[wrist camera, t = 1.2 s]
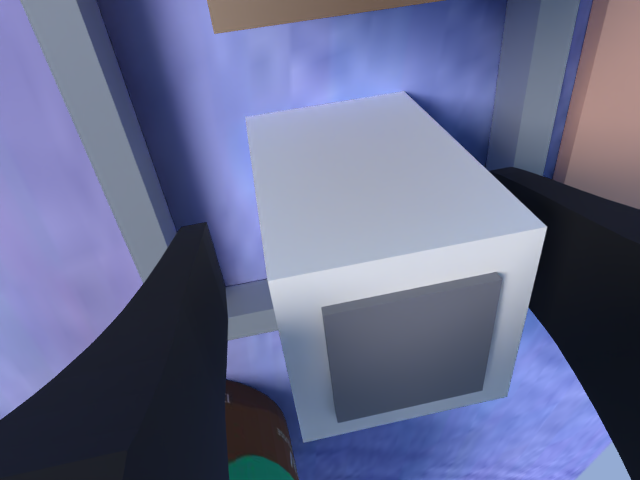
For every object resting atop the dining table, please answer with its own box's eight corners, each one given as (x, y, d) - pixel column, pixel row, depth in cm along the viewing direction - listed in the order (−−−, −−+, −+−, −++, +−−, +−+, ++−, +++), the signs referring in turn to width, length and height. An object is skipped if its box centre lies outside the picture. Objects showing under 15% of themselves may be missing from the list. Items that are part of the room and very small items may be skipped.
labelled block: (403, 91, 13) (554, 233, 7) (402, 222, 16) (511, 405, 10) (245, 116, 13) (269, 289, 7) (271, 247, 15) (304, 451, 9)
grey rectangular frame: (643, -598, 7) (729, -703, 6) (499, 254, 17) (520, 280, 16) (-185, -576, 6) (-284, -697, 5) (176, 319, 16) (172, 351, 15)
